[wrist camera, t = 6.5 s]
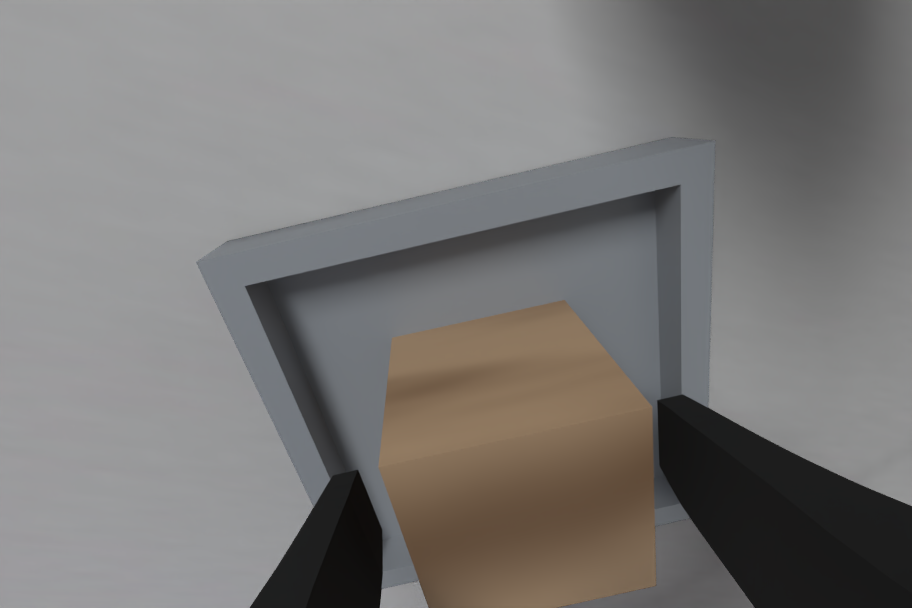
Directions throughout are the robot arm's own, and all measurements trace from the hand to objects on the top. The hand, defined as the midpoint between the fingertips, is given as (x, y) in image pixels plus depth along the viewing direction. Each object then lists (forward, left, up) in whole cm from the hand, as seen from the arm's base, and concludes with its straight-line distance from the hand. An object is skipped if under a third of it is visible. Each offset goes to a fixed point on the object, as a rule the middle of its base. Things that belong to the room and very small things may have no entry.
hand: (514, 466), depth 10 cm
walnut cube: (0, 0, -3) cm, 3 cm away
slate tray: (0, 0, -4) cm, 4 cm away
